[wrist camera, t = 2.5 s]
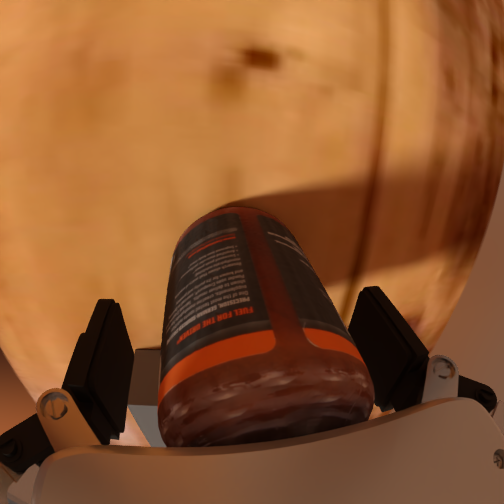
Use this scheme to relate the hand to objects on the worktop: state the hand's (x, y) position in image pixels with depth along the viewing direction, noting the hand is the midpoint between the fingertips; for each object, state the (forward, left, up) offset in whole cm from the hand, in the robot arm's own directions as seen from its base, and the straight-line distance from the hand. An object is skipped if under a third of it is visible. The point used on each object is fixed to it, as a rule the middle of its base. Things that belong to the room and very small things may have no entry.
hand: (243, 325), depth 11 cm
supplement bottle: (0, 0, -4) cm, 4 cm away
